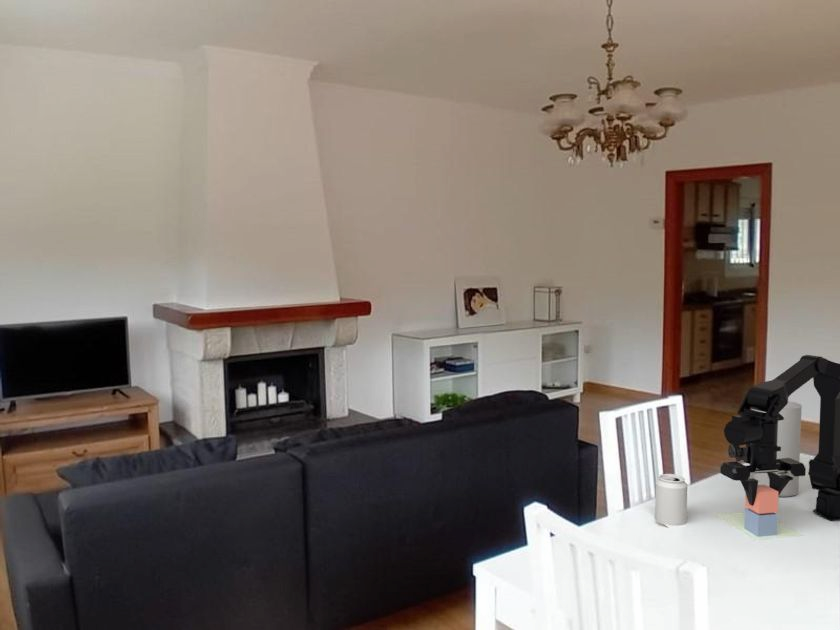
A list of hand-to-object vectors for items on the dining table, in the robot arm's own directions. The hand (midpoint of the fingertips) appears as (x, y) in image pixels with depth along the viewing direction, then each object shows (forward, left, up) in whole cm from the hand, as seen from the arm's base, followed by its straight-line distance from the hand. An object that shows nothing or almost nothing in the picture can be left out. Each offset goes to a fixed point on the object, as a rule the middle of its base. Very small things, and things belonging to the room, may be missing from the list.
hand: (761, 504), depth 166 cm
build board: (-2, -4, -8) cm, 9 cm away
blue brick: (0, 0, -7) cm, 7 cm away
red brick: (0, 0, -1) cm, 1 cm away
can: (+17, -11, -8) cm, 22 cm away
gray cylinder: (-24, -28, -8) cm, 38 cm away
